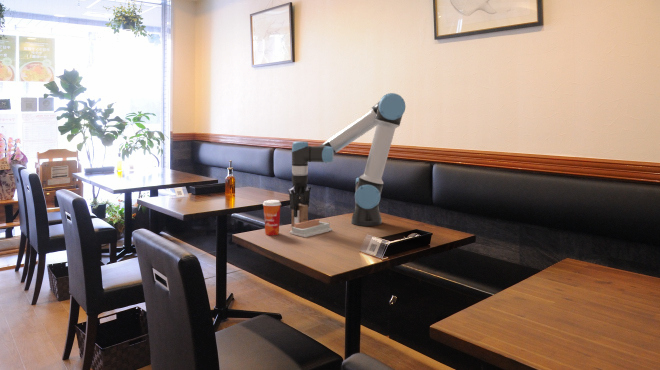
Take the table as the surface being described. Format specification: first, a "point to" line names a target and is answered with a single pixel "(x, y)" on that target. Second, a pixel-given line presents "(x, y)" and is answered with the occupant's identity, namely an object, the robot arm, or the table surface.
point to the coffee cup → (272, 216)
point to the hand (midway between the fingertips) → (299, 222)
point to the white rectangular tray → (310, 228)
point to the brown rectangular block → (301, 214)
